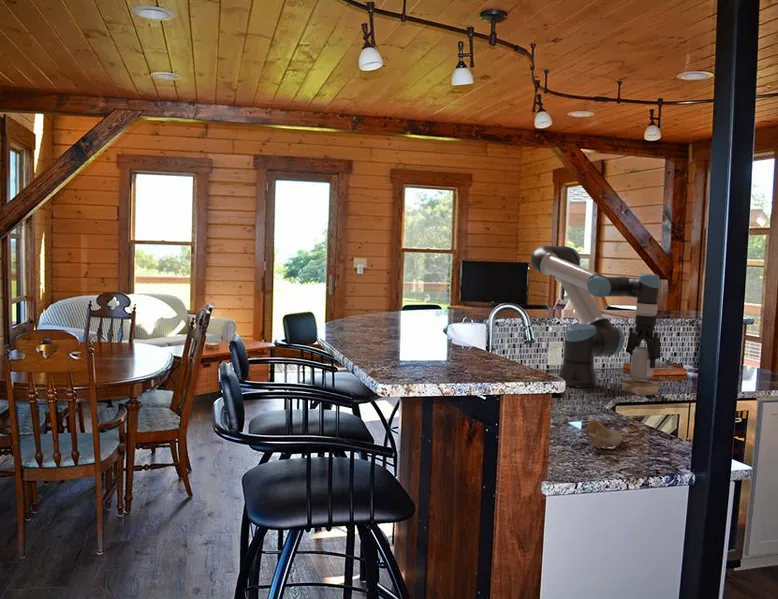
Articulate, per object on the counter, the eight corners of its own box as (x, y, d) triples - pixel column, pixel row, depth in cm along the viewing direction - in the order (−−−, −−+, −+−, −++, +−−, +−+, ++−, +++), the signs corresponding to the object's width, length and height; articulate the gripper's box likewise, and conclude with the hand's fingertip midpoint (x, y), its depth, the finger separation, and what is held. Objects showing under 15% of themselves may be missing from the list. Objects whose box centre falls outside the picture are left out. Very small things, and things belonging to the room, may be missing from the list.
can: (648, 376, 273) (651, 346, 272) (653, 380, 266) (656, 349, 264) (628, 375, 274) (631, 345, 273) (633, 379, 266) (635, 348, 265)
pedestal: (622, 390, 272) (623, 380, 272) (639, 388, 276) (640, 378, 276) (640, 395, 264) (641, 385, 264) (657, 394, 268) (658, 383, 268)
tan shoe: (576, 451, 190) (579, 415, 189) (604, 435, 207) (606, 402, 206) (607, 459, 185) (610, 421, 184) (633, 442, 202) (636, 407, 201)
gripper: (674, 318, 260) (669, 379, 262) (633, 311, 278) (628, 368, 280) (660, 318, 257) (655, 380, 259) (619, 311, 275) (614, 369, 277)
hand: (641, 373), depth 270 cm, fingers closed on can, 7 cm apart
